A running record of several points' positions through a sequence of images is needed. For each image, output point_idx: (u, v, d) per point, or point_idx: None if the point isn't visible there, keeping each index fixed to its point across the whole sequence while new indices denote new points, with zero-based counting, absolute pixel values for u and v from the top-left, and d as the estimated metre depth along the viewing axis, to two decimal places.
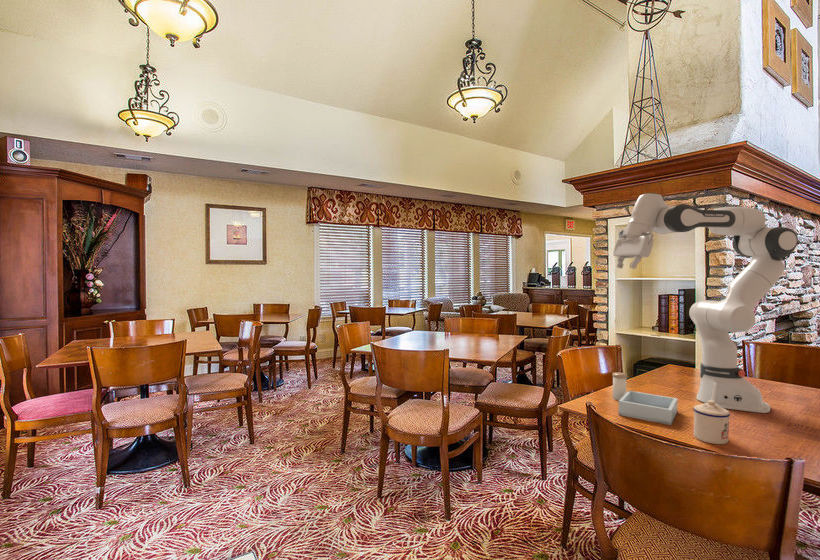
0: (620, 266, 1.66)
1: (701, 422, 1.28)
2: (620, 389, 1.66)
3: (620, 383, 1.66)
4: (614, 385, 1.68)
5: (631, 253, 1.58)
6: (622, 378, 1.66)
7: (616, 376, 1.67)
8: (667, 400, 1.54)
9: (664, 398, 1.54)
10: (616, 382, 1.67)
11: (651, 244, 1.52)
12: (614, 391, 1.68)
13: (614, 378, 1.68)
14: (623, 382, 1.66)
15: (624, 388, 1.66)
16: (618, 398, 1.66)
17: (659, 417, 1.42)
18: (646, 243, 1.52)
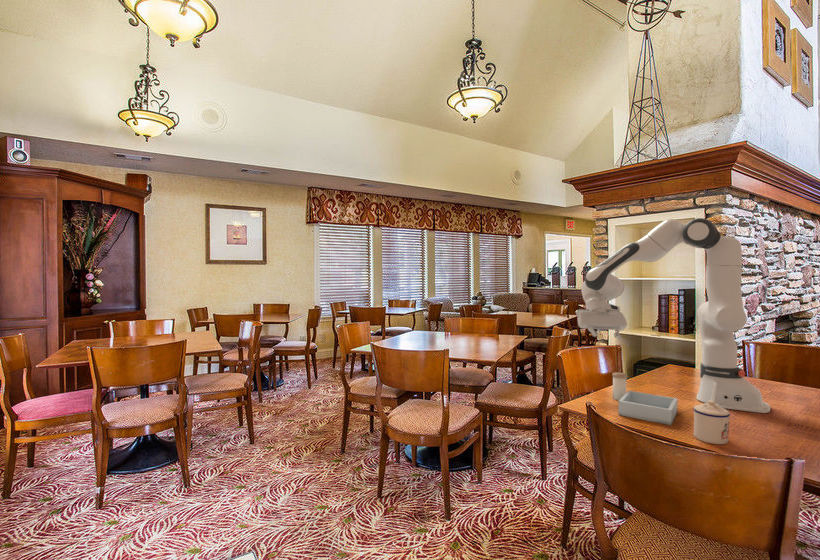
0: (615, 335, 1.80)
1: (701, 422, 1.28)
2: (620, 389, 1.66)
3: (620, 383, 1.66)
4: (614, 385, 1.68)
5: None
6: (622, 378, 1.66)
7: (616, 376, 1.67)
8: (667, 400, 1.54)
9: (664, 398, 1.54)
10: (616, 382, 1.67)
11: (579, 315, 1.84)
12: (614, 391, 1.68)
13: (614, 378, 1.68)
14: (623, 382, 1.66)
15: (624, 388, 1.66)
16: (618, 398, 1.66)
17: (659, 417, 1.42)
18: (578, 318, 1.86)
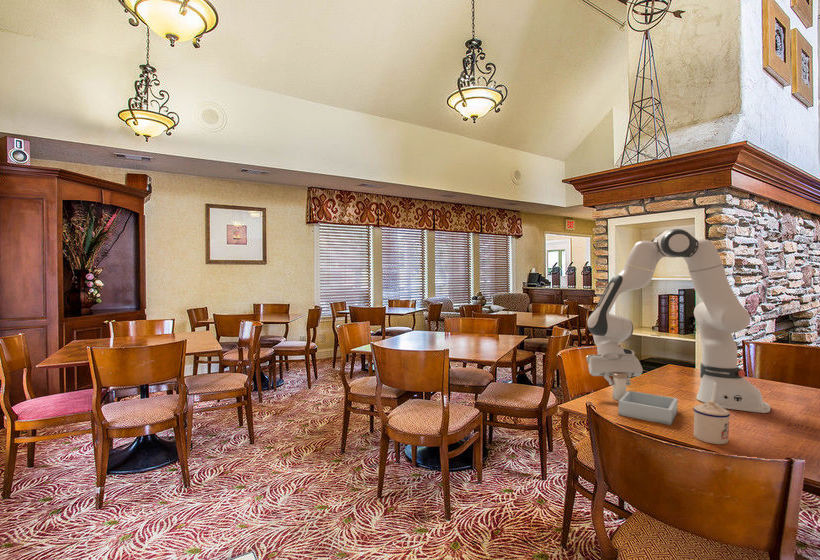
0: (626, 383, 1.68)
1: (701, 422, 1.28)
2: (620, 389, 1.66)
3: (620, 383, 1.66)
4: (614, 385, 1.68)
5: None
6: (622, 378, 1.66)
7: (616, 376, 1.67)
8: (667, 400, 1.54)
9: (664, 398, 1.54)
10: (616, 382, 1.67)
11: (590, 362, 1.74)
12: (614, 391, 1.68)
13: (614, 378, 1.68)
14: (623, 382, 1.66)
15: (624, 388, 1.66)
16: (618, 398, 1.66)
17: (659, 417, 1.42)
18: (588, 365, 1.75)
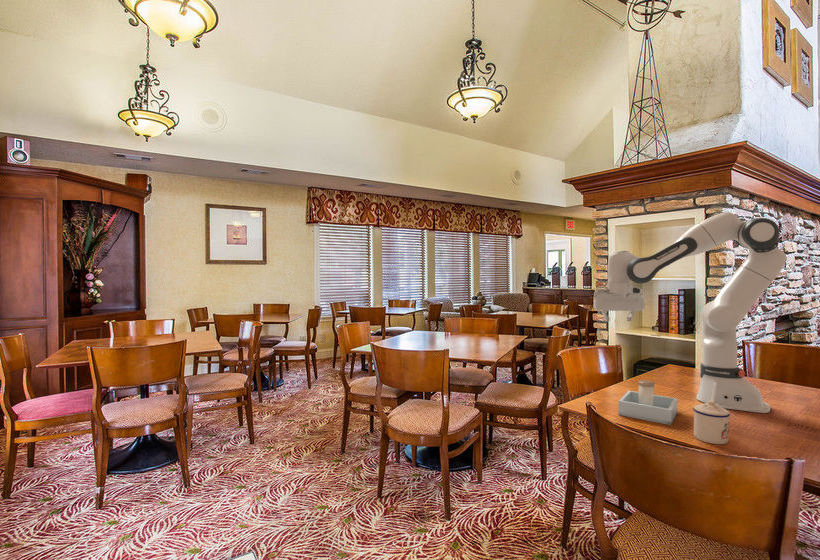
0: (627, 319, 1.82)
1: (701, 422, 1.28)
2: (647, 398, 1.51)
3: (647, 392, 1.50)
4: (640, 394, 1.52)
5: None
6: (649, 386, 1.50)
7: (643, 384, 1.51)
8: (667, 400, 1.54)
9: (664, 398, 1.54)
10: (643, 391, 1.51)
11: (596, 299, 1.81)
12: (640, 401, 1.52)
13: (640, 387, 1.52)
14: (651, 391, 1.50)
15: (652, 398, 1.51)
16: None
17: (659, 417, 1.42)
18: (594, 299, 1.83)
